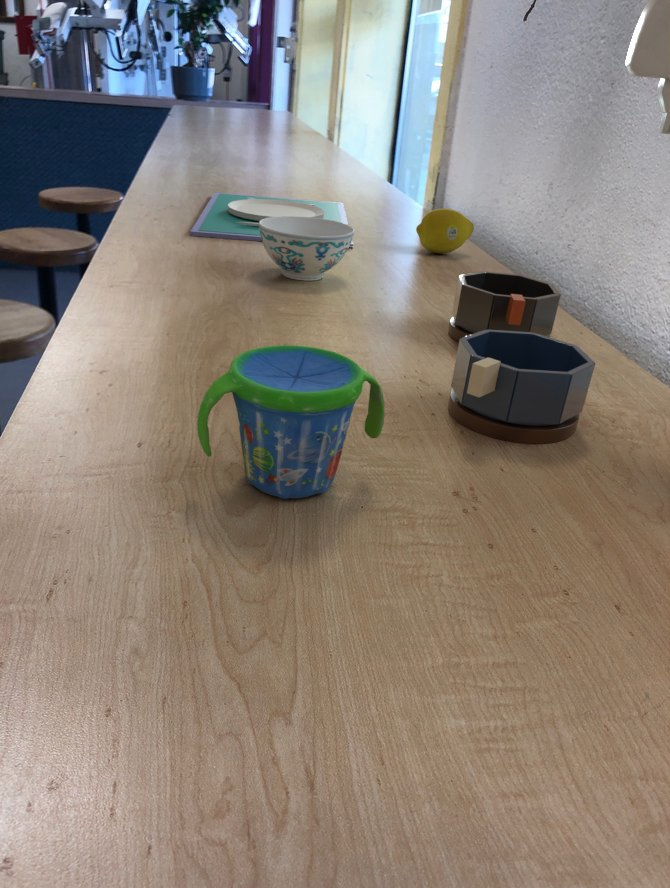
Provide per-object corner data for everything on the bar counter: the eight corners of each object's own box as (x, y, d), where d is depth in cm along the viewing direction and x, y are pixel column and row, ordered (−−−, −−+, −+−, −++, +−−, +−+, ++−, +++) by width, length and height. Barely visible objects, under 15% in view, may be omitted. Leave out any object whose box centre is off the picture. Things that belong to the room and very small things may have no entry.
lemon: (414, 255, 146) (421, 210, 142) (410, 246, 153) (416, 202, 149) (472, 260, 146) (481, 215, 142) (465, 250, 153) (473, 207, 149)
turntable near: (567, 401, 87) (570, 388, 87) (584, 452, 76) (588, 438, 75) (447, 385, 89) (450, 372, 88) (447, 433, 77) (450, 419, 77)
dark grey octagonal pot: (449, 308, 111) (457, 265, 108) (539, 317, 110) (549, 274, 107) (458, 343, 97) (467, 295, 94) (560, 353, 97) (572, 305, 94)
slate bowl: (493, 371, 89) (504, 319, 86) (597, 406, 82) (612, 351, 79) (414, 403, 79) (423, 346, 76) (525, 447, 72) (540, 386, 69)
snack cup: (206, 519, 60) (209, 395, 55) (187, 456, 69) (188, 345, 64) (396, 506, 64) (415, 389, 59) (356, 448, 73) (369, 342, 68)
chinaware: (368, 282, 126) (374, 232, 123) (295, 292, 118) (299, 239, 114) (308, 260, 136) (312, 214, 132) (238, 268, 128) (239, 219, 124)
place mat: (214, 196, 185) (214, 185, 184) (342, 206, 186) (343, 196, 185) (190, 235, 146) (190, 223, 145) (352, 248, 147) (354, 235, 146)
